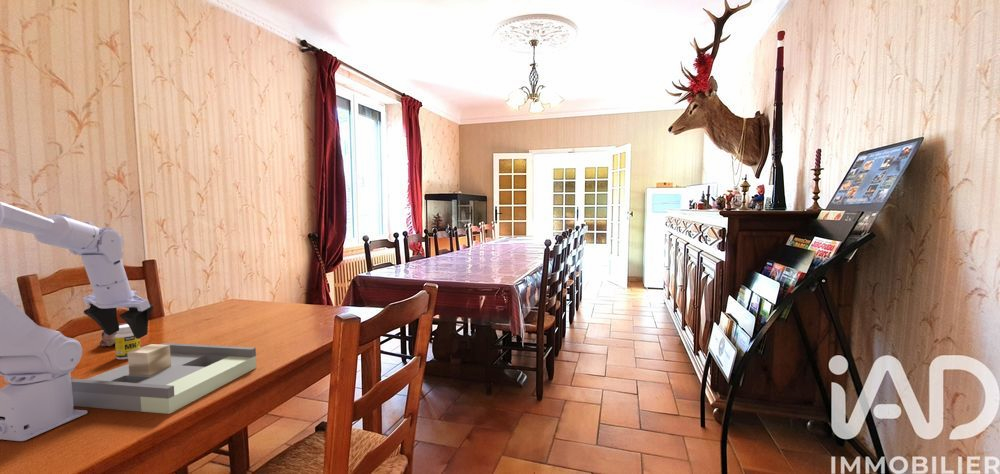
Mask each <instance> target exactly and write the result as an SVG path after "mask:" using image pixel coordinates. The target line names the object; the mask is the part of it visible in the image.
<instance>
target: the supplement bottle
mask: <svg viewBox="0 0 1000 474" xmlns="http://www.w3.org/2000/svg"><path fill="white" fill-rule="evenodd" d="M124 324H125V325H120V326H119V331H117V334H116V335H115V343H114V344H115V345H114V346H115V358H116V359H117V360H128V352H129V351H132V350H135V349H138V348H141V338H140V339H137V338H136V337H135V336H134V335H133V333H132V330H131V328H130V327H129V325H128V324H127V323H124Z"/></svg>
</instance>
